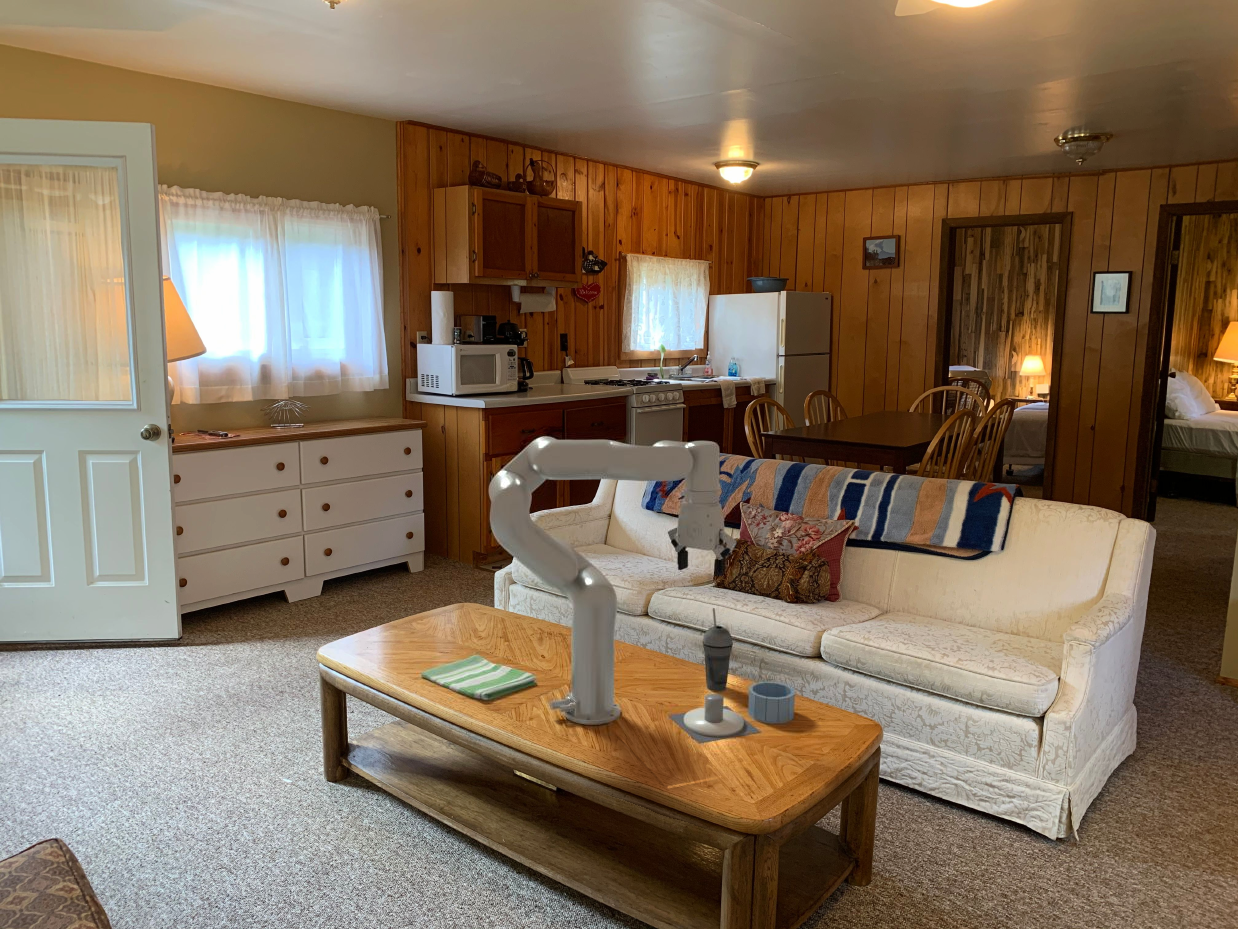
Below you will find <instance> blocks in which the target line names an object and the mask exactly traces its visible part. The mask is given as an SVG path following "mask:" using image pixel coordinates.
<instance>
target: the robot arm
mask: <svg viewBox="0 0 1238 929" xmlns="http://www.w3.org/2000/svg"><path fill="white" fill-rule="evenodd" d="M682 479H684V489H681V491H680V496H683V497H684V501H681V504H680V508H679V511H678V512H679V513H678V518H677V527H675V528H673V529H670V530H668V531H667V534H668V538H669V540H670V544H671V545H672V546H673V548H674V552H675V553H677V554H676V555H677V560H676V561H677V569H678V571H682V570H685V569H687V568H689V551H688V550H687V549H689V548H690V549H695V550H701V551H712V552H713V554H714V556H715V557H716V558H715V559H714V577H716V578H719V577H722V576H724V575H725V572H726V568H727V567H726V564H727V562H726V561H727V560H726V559H727V558H728V556H729V555H731V553H733V551H734V548H735V547H736V545H737V540H736V539H735V538H734V537H732V536H731V535H729V534H728V533H727V532H725V521H724V513H723V507H722V503H720V502H719V501H720V498H719V497H720V446H719V445H718V443H717V442H714V441H709V440H694V441H689V442H687V441H675V440H667V439H666V440H660V441H657V442H655V443H654V444H653V445H652V446H651V445H649V446H647V445H636V444H635V445H634V444H628V443H623V442H619V441H615V440H610V439H557V438H555V437H552V436H547V435H545V436H540V437H538V438H536V439H533V441H531V442H530V443H529V444H528V445H526V447H525V448H524V449H523V450H522V451H521V452H519V453H518V454H517V455H516V456H515V457H514V458H512V460H511V461H510V462H508V463H507V464H506V465H504V466H503V468H501V470H500V471H498V472H497V473H496V474H495V475H494V477H493V478H492V479H491V481H490V482H489V485H488V495H489V499H490V502H491V503H490V511H489V523H490V527H491V528H490V529H491V531H492V534H493V536H494V538H495V540H496V541H497V542H498V544H499V545H500V546H501V547H502V548H503V549H504V550H505V551H506V552H508V553H509V554H510V555H511V556H513V558H514V559H515V560H517V561H518V562H519V563H520V564H521V565H522V566H524V567H525V568H526V569H528V570H529V572H530V573H532V574H534V576H536V578H538V580H539V581H541V582H542V583H543V584H544V585H545V586H547V587H550V588H553V589H556V590H558V592H560V593H561V594H563V596H565V597H566V598H567V599H569V601H570V603H571V605H572V621H571V638H570V641H571V643H570V645H571V661H570V662H571V668H570V669H571V672H570V675H571V677H570V680H571V681H570V684H571V686H570V691H571V692H567V693H566V697H563V699H555V700H550V701H549V708H550V710H552V711H553V710H559V712H560V713H563V715H564V716H565V718H566V719H568V720H569V721H570V722H573V723H577V724H580V725H585V726H586V725H587V726H588V725H590V726H595V725H605V724H608V723H611V722H613V721H615V720H617V719H618V718H619V717H620V716H621V707H620V705H619V704H617V703H616V702H615V701H614V700H615V699H614V698H615V638H616V637H615V635H616V634H615V632H616V622H617V621H616V619H617V611H618V597H617V596H618V595H617V592H616V590H615V588H614V586H613V585H612V583H611V582H610V581H609V579H608V578H607V577H606V575H604V574H603V572H602V571H601V570H600V569H599V568H598V567H596V566H595V565H594V564H593V563H592V562H590V561H589V560H588V559H587V558H586V557H584V556H583V555H582V554H581V553H580V552H578V551H577V550H576V549H575V548H574V547H573V546H571V545H570V544H569V543H568V542H566V541H565V540H563V539H561V538H559V537H556V536H552V535H550V534H549V533H548V532H546V531H545V530H544V529H543V528H542V527H541V526H540V525H539V524H537V523H536V522H535V521H534V520H533V519H532V517H531V515H530V508H531V504H532V496H533V495H532V493H533V492H534V491H535V490H536V489H537V488H539V487H540V486H541V485H542V484H543V483H544V482H545V481H546V480H553V481H557V480H559V481H561V480H563V481H564V480H565V481H567V480H569V481H570V480H610V481H611V480H612V481H632V482H633V481H637V482H671V481H672V482H675V481H680V480H682ZM725 543H726V548H725V547H724V545H725Z"/></svg>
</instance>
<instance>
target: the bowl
mask: <svg viewBox="0 0 1238 929" xmlns="http://www.w3.org/2000/svg"><path fill="white" fill-rule="evenodd" d="M795 698H796V692H795V688H793V687H792V686H790V685H789V684H785V683H781V682H778V681H768V680H767V681H766V680H765V681H759V682H755V683H752V684H751V685H749V687H748V707H747V708H748V709H747V710H748V712H747V714H748V716H749V717H750V718H751V719H753V720H756V721H757V722H761V723H763V724H764V723H765V724H771V725H772V724H774V725H776V724H785V723H788V722H791V721H792V720H793V719H794V716H795V704H796V703H795V700H796V699H795Z"/></svg>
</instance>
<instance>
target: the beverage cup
mask: <svg viewBox="0 0 1238 929" xmlns="http://www.w3.org/2000/svg"><path fill="white" fill-rule="evenodd" d="M712 616H713V617H712V618H713V626H711V627H709V628H708V629H707V630H706V631H705V633H704V634H703V640H702V647H703V652H704V665H705V667H704V668H705V669H704V670H705V682H706V689H707V690H709V691H710V692H723V691H726V689H727V684H728V676H729V668H730V659H731V653H732V649H733V645H734V643H733V642H734V641H733V638H732V635H731V633H730V631H729V630H728V629H727V628H726V627H724V626H721V625H717V619H716V618H717V617H716V608H714V607H712Z"/></svg>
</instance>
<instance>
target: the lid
mask: <svg viewBox="0 0 1238 929" xmlns="http://www.w3.org/2000/svg"><path fill="white" fill-rule="evenodd" d="M724 699H725V698H724V696H723V695H721V694H718V693H709V694H706V695H705V696H704V707H699V708H695V709H691V710H689V711H688V712H687V713H686V712H685V713H686V714H685V716H684V725H685V727H686V728H687V729H689V730H690V731H692V732H695V733H697V734H701V735H706V736H729V735H733V734H736V733H738V732H740V731H741V730H742V729H743V727H744V719H745V718H744V717H742V716H741V715H740V714H739V713H737V712H736V711H734V710H733V711H734V712H733V711H731V710H727V709H723V706H724ZM743 718H744V719H743Z"/></svg>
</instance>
